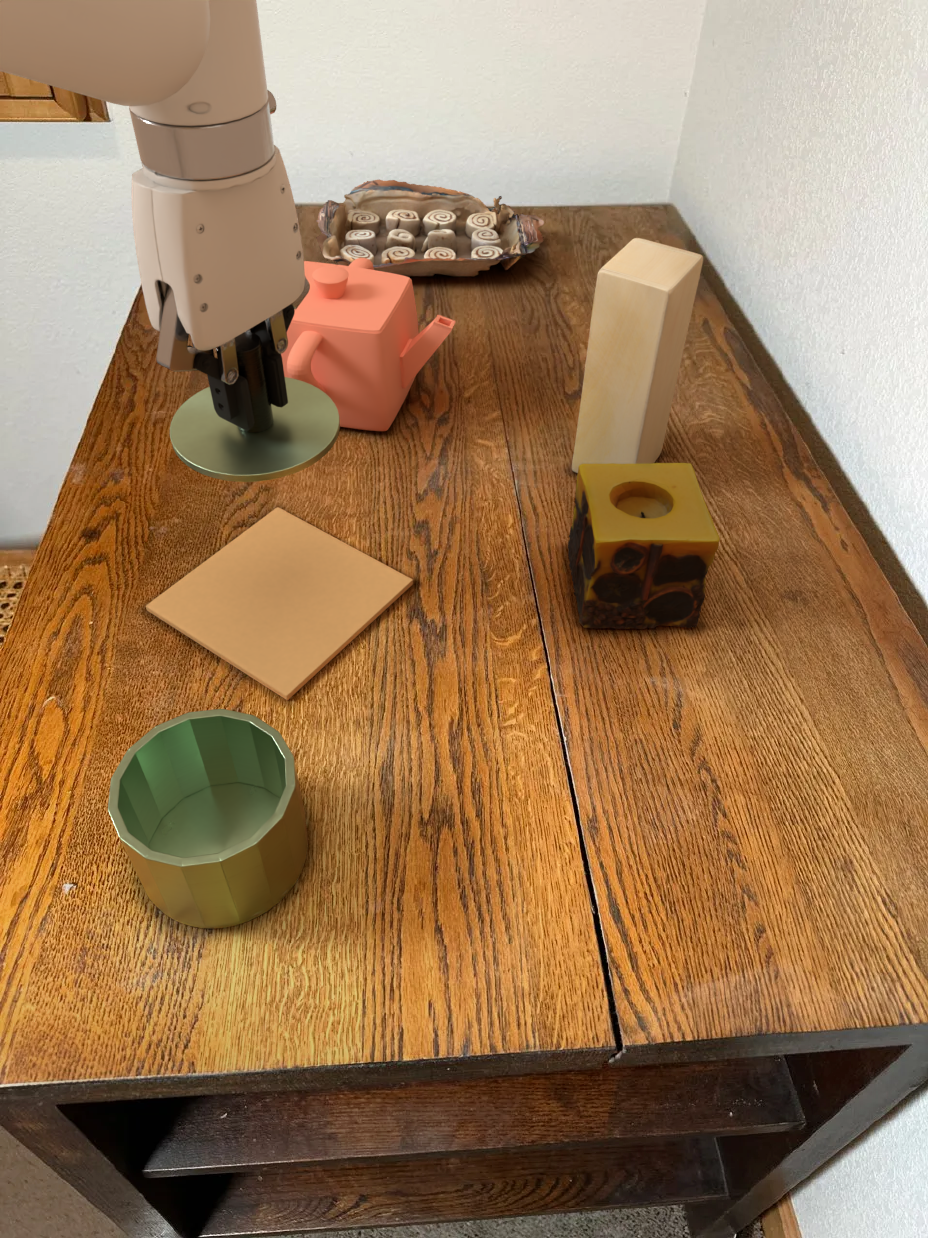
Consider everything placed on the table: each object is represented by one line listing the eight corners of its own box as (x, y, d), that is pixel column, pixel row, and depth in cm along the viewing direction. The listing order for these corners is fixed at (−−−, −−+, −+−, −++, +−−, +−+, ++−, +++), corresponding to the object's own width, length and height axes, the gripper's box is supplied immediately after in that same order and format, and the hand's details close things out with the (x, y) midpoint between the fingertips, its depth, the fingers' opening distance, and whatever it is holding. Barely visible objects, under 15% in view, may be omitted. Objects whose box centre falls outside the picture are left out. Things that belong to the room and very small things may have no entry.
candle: (697, 630, 79) (725, 543, 71) (579, 632, 78) (594, 544, 71) (674, 547, 86) (697, 460, 78) (564, 549, 85) (577, 461, 78)
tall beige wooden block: (597, 429, 98) (628, 232, 82) (662, 452, 95) (707, 254, 80) (562, 469, 93) (589, 268, 77) (630, 495, 90) (671, 293, 75)
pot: (224, 963, 58) (199, 901, 52) (105, 866, 63) (69, 798, 56) (341, 835, 65) (332, 766, 58) (225, 754, 69) (205, 682, 63)
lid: (259, 512, 62) (242, 415, 56) (137, 445, 67) (109, 349, 61) (374, 426, 69) (368, 332, 63) (255, 371, 73) (240, 278, 68)
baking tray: (529, 212, 132) (532, 172, 128) (559, 287, 118) (563, 245, 114) (316, 218, 129) (313, 178, 125) (320, 297, 115) (316, 254, 111)
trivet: (287, 700, 72) (286, 696, 72) (146, 610, 78) (145, 605, 78) (413, 584, 81) (413, 579, 81) (278, 511, 87) (277, 506, 87)
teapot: (234, 442, 94) (210, 317, 84) (310, 332, 109) (297, 214, 99) (424, 475, 92) (423, 350, 81) (475, 358, 106) (480, 239, 96)
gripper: (258, 82, 58) (291, 344, 72) (43, 165, 49) (127, 446, 63) (349, 111, 56) (366, 377, 69) (139, 204, 47) (206, 490, 60)
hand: (252, 408), depth 66 cm, fingers closed on lid, 2 cm apart
